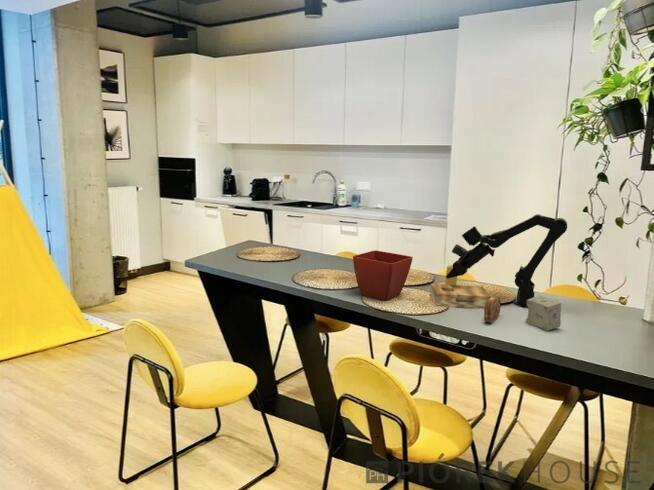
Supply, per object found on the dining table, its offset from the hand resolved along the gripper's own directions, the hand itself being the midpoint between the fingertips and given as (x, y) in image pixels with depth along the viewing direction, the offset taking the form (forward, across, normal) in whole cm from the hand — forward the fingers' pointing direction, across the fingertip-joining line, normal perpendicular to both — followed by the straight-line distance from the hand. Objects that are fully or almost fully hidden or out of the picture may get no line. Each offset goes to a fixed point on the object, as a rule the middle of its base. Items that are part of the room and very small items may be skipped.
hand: (448, 275), depth 228 cm
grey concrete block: (-23, +25, +34) cm, 48 cm away
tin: (-10, +27, +22) cm, 36 cm away
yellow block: (+5, 0, +6) cm, 8 cm away
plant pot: (+23, +20, -11) cm, 32 cm away
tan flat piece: (0, +10, +11) cm, 15 cm away
